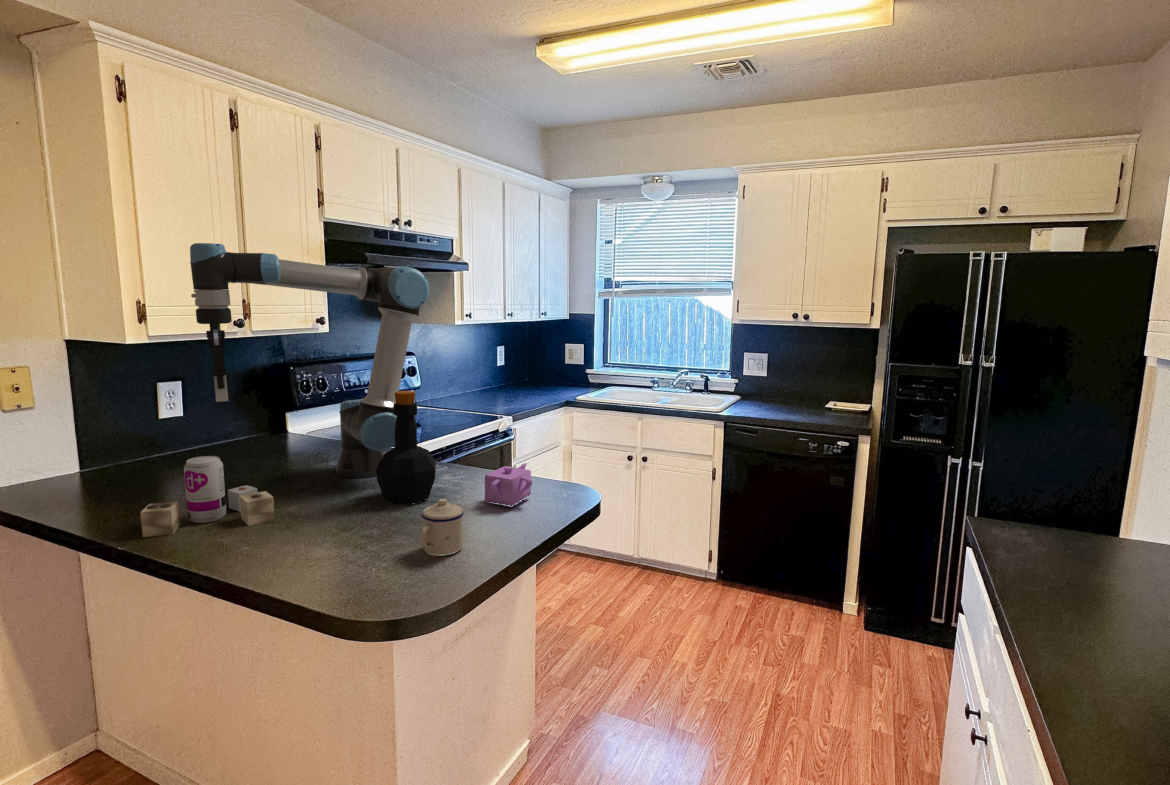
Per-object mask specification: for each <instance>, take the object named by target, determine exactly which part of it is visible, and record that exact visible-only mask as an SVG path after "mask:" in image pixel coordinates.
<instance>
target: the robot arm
mask: <svg viewBox="0 0 1170 785" xmlns="http://www.w3.org/2000/svg"><path fill="white" fill-rule="evenodd" d="M189 255H190V257H189V258H190V260H189V261H190V262H189V263H190V270H191V272H190V273H191V278H192V279H191V280H192V286H193V292H194V293H191V295H190V297H191V298H193V299H194V298H195V299H194V304H195V306H196V307H198V308H196V309H195V317H196V319H195V320H196V323H197V324H198V325H209V330H206V331H205V333H206V338H207V340H208V348H209V350H211V356H212V357H211V358H212V365H213V368H212V370H213V371H212V373H210V377H212V378H213V383H214V384H213V385H214V392H215V402H216V403H220V402H229V391H228V382H227V381H228V380H227V375H230V373H229V371H226V367H225V366H226V365H225V358H224V357H225V356H224V349H225V348H226V344H225V338H226V332H225V329H224V330H221V324H222V325H223V324H230V323H232V321H233V320H232V310H231V309H230V308H229V306H231V297H230V296H231V295H230V290H229V288H230V287H229V284H230V283H231V284H235V283H236V284H255V285H265V286H273V287H282V288H290V289H299V290H308V291H316V292H317V291H318V292H322V293H323V292H325V293H332V294H343V295H351V296H356V298H357V299H358V300H364V301H365V300H366V301H370V302H375V303H378V306H377V309H378V310H379V312H380V313H381V321H380V326H379V330H378V335H377V341H376V347H375V351H374V352H375V353H374V358H373V362H372V368H371V373H370V377H369V384H368V387H367V388H368V389H367V394H366V396H365V397H363V398H361V399H359V398H358V399H349V400H344V401H342V402H341V403H340V406H339V412H338V413H339V416H340V417H339V419H340V420H339V421H340V438H341V439H340V442H341V443H340V444H341V450H340V452H339V455H338V456H339V457H338V459H337V463H336V466H335V467H336V470H335V471H336V474H337V475H338V476H339V477H342V478H349V479H352V478H353V479H361V478H370V477H371V478H372V477H377V474H376V469H377V467H378V465H379V463H380V461H381V459H382V457H383V456H384V454H385V453H384V451H389V450H391V449H392V448H394V447H395V425H396V418H397V416H396V415H394V406H393V405H394V404H395V403H396V400H395V392H398V391H400V386H401V382H402V381H401V380H402V376H403V371H404V367H405V366H404V365H405V361H406V357H407V356H406V354H407V350H408V344H409V339H410V333H411V330H412V324H413V321H414V320H416V319H418V318H419V316H420V311H421V310H420V309H421V306H423V305H424V304H425V303H426V302H427V300H428V298H429V296H430V285H429V281H428V280H427V278H426V276H425V275H424V274H423V273H422V272H421V271H420V270H418V269H417V268H413V267H410V266H405V265H402V266H395V267H394V266H393V267H392V266H388V267H379V268H378V267H377V268H375V267H374V268H373V267H372V268H370V267H364V266H363V267H362V266H361V267H360V268H358V269H353V268H346V267H345V268H344V267H338V266H330V265H323V264H315V263H309V262H303V261H302V262H301V261H295V260H294V261H293V260H288V259H280V258H279V257H278V255H276V254H275V253H266V252H228V251H227V250H226V247H225V245H224V244H222V243H211V242H210V243H207V242H203V243H202V242H195V243H193V244H191V245H190V246H189Z"/></svg>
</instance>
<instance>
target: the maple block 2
mask: <svg viewBox="0 0 1170 785" xmlns="http://www.w3.org/2000/svg"><path fill="white" fill-rule="evenodd" d="M240 510H241V512H240V519H241V520H242V521H243V522H244V523H245V524H246V525H247V526H254V525H259V524H263V523H267V522H272V521H275V520H276V518H275V517H276V515H275V500H274V496H272V494H270V493H269V492H268V491H266V490H264V491H258V493H253V494H248V495H242V496H240Z"/></svg>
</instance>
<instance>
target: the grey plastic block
mask: <svg viewBox="0 0 1170 785" xmlns="http://www.w3.org/2000/svg"><path fill="white" fill-rule="evenodd" d="M258 492H259V490H258V488H257V487H254V486H250V485H247V484H246V485H242V486H238V487H234V488H230V489H227V497H228V509H230V510H231V509H232V510H234V511H237V512H239V513H241V510H240V496H242V495H248V494H253V493H258Z"/></svg>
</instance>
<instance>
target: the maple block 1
mask: <svg viewBox="0 0 1170 785" xmlns="http://www.w3.org/2000/svg"><path fill="white" fill-rule="evenodd" d="M140 522H141V523H140V524H141V531H142V533H141V534H142V537H143V538H146V537H147V538H148V537H157V536H169V535H171V536H172V535H174V534H175V532H177V530H178V529H179V528H180V526H181V516H180V503H179V501H168V502H155V503H152V502H151V503H148V504H147V505H146V506H145V508H143V509H142V510H141V511H140Z"/></svg>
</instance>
